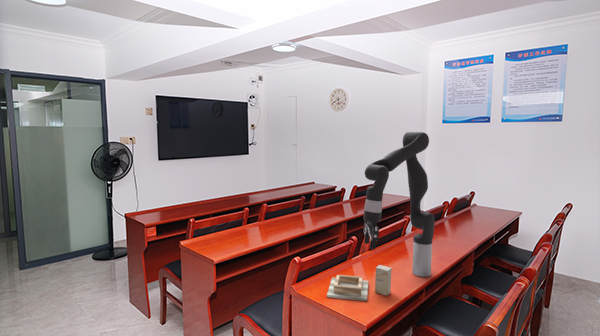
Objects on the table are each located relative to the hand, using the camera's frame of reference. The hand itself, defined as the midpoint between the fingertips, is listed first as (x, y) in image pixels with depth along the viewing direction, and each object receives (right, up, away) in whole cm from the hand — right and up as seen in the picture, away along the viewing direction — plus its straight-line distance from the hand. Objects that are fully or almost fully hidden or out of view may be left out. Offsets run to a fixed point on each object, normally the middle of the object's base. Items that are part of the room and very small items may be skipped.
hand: (369, 246), depth 150 cm
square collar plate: (-8, -23, +11) cm, 27 cm away
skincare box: (+8, -24, +8) cm, 27 cm away
